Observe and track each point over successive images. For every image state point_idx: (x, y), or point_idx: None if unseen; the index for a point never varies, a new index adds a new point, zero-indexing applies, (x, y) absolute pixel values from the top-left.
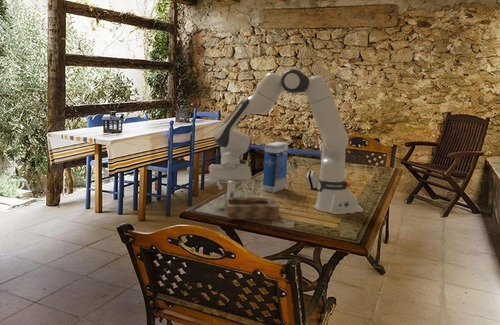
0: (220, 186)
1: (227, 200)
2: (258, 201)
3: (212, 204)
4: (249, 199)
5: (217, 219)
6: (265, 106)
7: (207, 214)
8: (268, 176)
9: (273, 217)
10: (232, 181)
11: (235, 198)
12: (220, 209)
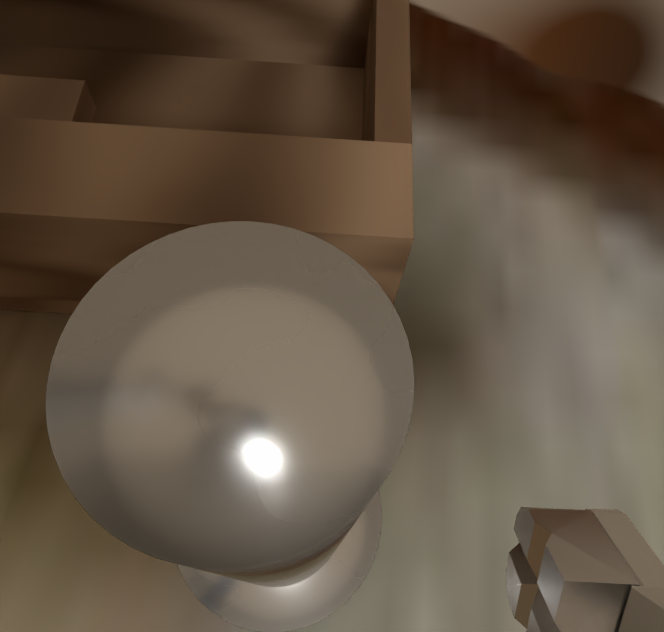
0: (606, 539)
1: (392, 93)
2: None
3: None
4: (6, 123)
5: (482, 42)
6: None
7: (596, 171)
8: None
9: None
10: (204, 293)
11: (238, 183)
12: (447, 340)
